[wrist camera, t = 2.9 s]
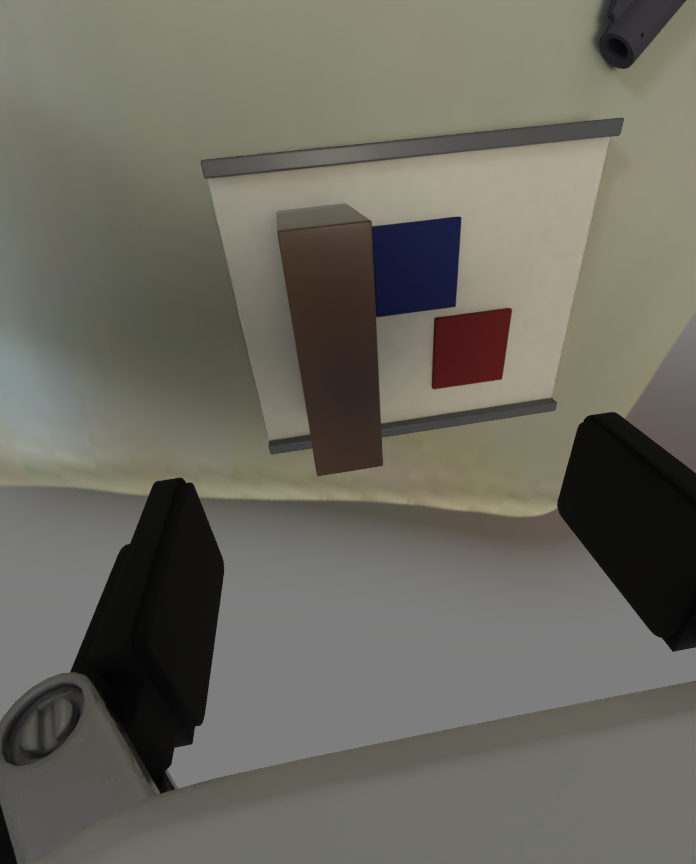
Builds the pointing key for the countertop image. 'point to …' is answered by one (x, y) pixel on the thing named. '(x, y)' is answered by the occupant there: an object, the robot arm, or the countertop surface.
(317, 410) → the eraser
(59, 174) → the countertop surface
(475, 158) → the memo board
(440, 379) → the smudge maroon
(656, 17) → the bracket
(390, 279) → the smudge navy
